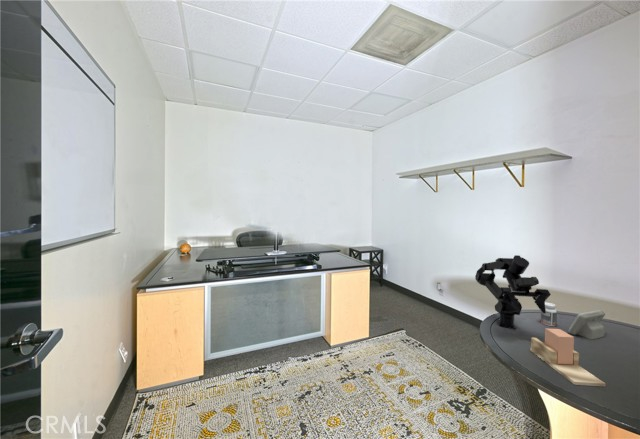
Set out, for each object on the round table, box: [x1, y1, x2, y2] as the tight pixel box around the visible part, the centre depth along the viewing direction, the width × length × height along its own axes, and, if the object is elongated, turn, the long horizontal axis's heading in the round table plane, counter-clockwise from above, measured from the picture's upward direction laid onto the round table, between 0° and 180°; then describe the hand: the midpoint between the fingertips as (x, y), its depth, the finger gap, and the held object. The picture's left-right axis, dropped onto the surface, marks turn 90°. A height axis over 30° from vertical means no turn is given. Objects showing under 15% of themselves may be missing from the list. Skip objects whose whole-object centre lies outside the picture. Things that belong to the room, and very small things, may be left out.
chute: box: [529, 337, 606, 387], centre depth 89 cm, size 19×9×6 cm, turn 175°
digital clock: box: [567, 309, 606, 340], centre depth 112 cm, size 16×9×11 cm, turn 95°
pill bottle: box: [540, 301, 558, 327], centre depth 122 cm, size 6×6×10 cm
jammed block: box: [544, 327, 575, 364], centre depth 92 cm, size 6×5×10 cm
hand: (532, 312), depth 103 cm, fingers open, 9 cm apart
